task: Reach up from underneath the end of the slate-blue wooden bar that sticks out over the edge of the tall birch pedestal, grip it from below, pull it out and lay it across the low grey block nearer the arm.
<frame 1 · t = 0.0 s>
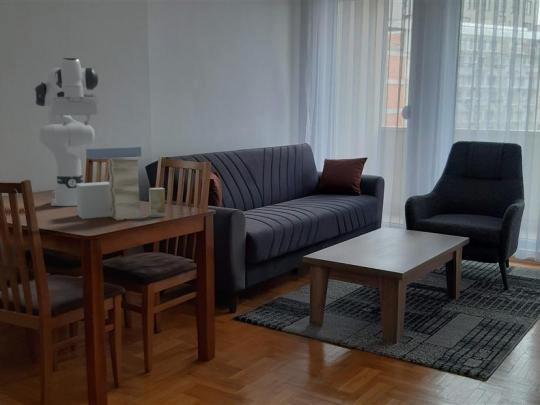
hand: (75, 125, 277), 39 cm above the table, tool pointing down, fingers open, 8 cm apart
bar: (114, 157, 261), point 26 cm above the table, touching pedestal
pedestal: (125, 217, 266), on the table
skincare box: (157, 216, 269), on the table
low block: (96, 215, 272), on the table
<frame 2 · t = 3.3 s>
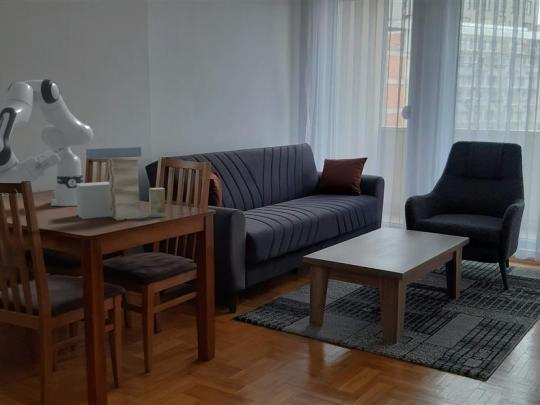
hand: (65, 148, 251), 30 cm above the table, tool pointing upward, fingers open, 8 cm apart
nothing on the table moved.
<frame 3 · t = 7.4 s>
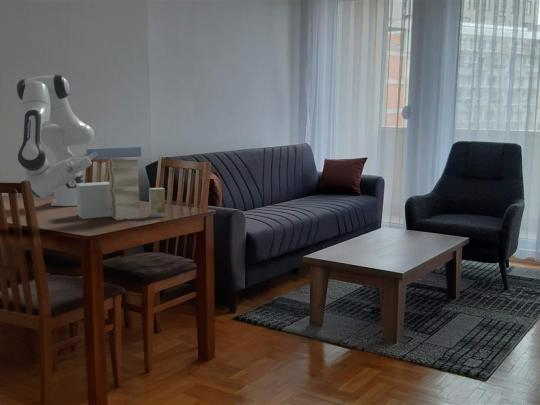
hand: (95, 152, 257), 28 cm above the table, tool pointing upward, fingers closed on bar, 4 cm apart
bar: (114, 157, 261), point 26 cm above the table, touching gripper, pedestal
everything else where it was.
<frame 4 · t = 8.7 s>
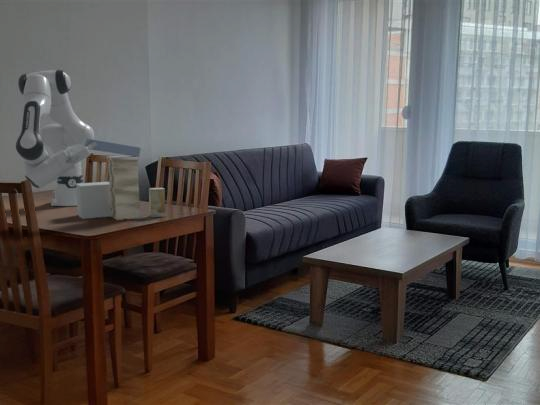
hand: (94, 142, 256), 32 cm above the table, tool pointing upward, fingers closed on bar, 4 cm apart
bar: (112, 152, 260), point 28 cm above the table, tilted 12°, touching gripper
everything else where it was.
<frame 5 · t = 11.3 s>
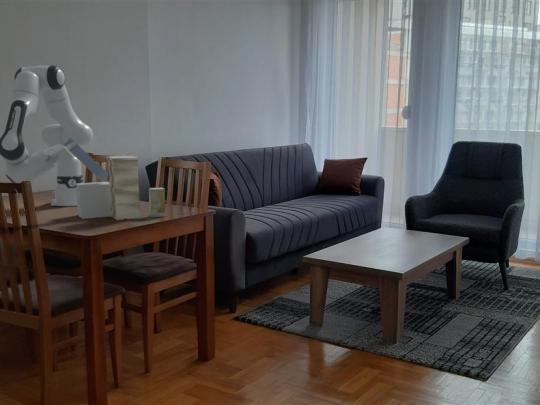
hand: (73, 142, 263), 32 cm above the table, tool pointing upward, fingers closed on bar, 4 cm apart
bar: (82, 163, 266), point 23 cm above the table, tilted 47°, touching gripper
everything else where it was.
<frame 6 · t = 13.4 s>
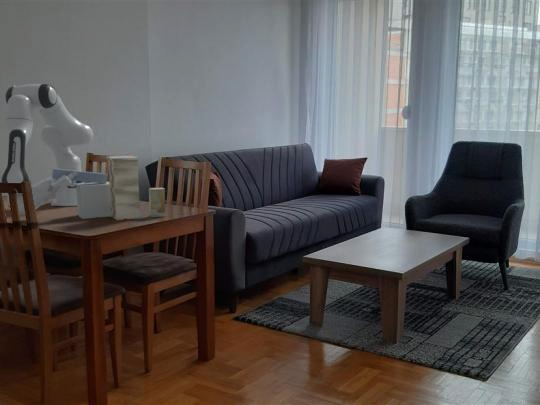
hand: (75, 171, 265), 20 cm above the table, tool pointing upward, fingers closed on bar, 4 cm apart
bar: (79, 180, 266), point 16 cm above the table, tilted 9°, touching gripper
everything else where it was.
when the fingers open (19 cm above the table, at t = 14.1 s): bar stays where it is, resting on low block.
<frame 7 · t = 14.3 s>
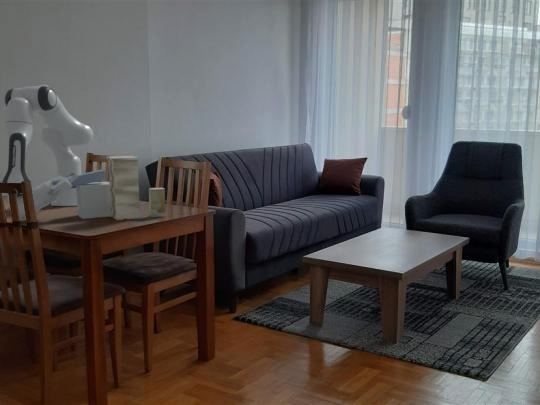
hand: (75, 174, 265), 18 cm above the table, tool pointing upward, fingers open, 5 cm apart
bar: (80, 184, 267), point 14 cm above the table, tilted 9°, touching low block
everything else where it was.
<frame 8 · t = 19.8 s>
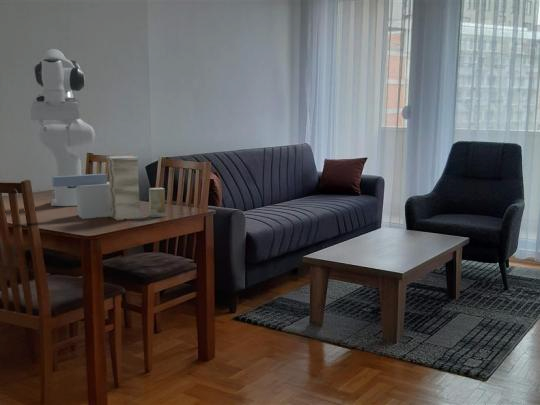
hand: (56, 130, 263), 37 cm above the table, tool pointing down, fingers open, 8 cm apart
bar: (80, 184, 267), point 14 cm above the table, touching low block
everything else where it was.
at the end: bar inside the target area (6.1 cm from its centre), point 14.0 cm above the table; the gripper is holding nothing; bar tilted 0° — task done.
